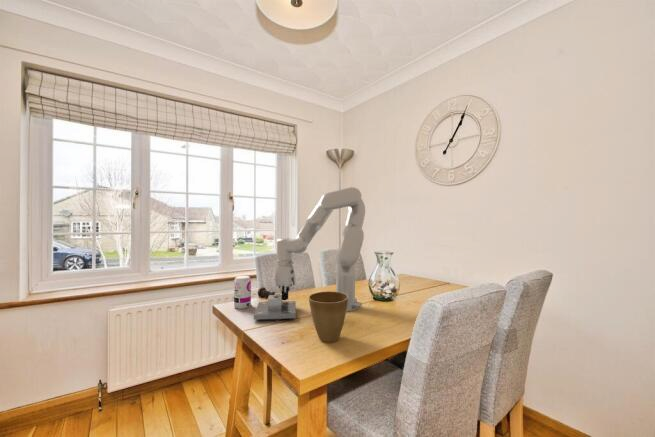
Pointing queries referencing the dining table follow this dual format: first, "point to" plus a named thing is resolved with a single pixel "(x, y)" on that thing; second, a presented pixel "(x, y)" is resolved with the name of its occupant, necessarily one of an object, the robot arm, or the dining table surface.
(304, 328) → the dining table surface
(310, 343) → the dining table surface
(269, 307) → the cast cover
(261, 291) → the bolt
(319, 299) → the plant pot
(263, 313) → the grey mounting base
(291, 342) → the dining table surface
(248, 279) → the supplement can
